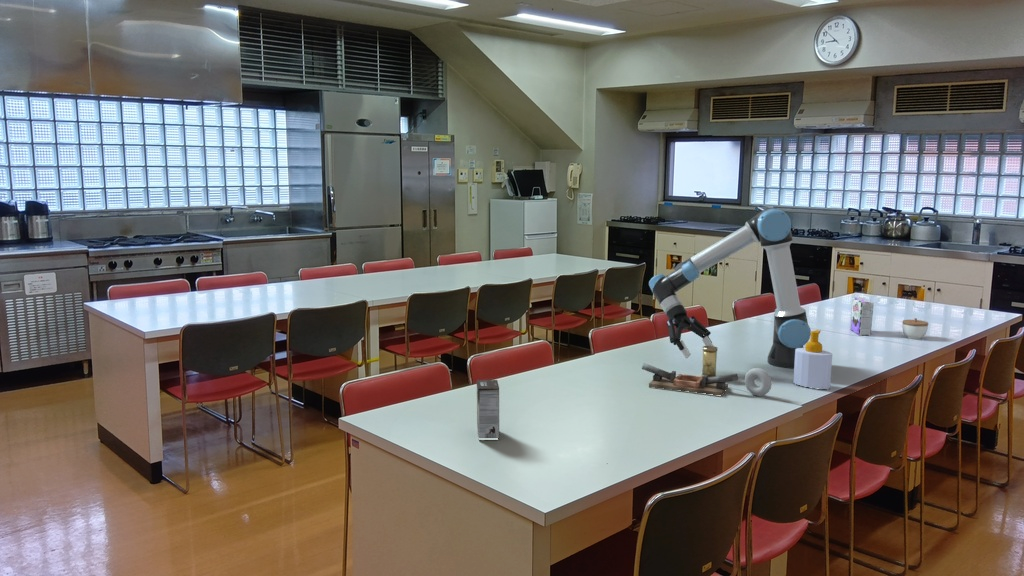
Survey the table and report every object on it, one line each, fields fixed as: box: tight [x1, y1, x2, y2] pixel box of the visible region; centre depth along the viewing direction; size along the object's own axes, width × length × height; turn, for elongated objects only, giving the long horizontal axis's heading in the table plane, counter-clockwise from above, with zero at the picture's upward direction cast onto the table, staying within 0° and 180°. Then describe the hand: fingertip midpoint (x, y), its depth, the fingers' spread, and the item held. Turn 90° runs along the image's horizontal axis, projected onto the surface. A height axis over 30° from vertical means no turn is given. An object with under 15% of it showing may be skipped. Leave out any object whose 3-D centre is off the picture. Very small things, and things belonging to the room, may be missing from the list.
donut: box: [744, 367, 773, 397], centre depth 262 cm, size 10×4×10 cm, turn 41°
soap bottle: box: [793, 329, 833, 390], centre depth 273 cm, size 13×8×20 cm, turn 47°
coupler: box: [701, 345, 718, 378], centre depth 284 cm, size 5×5×12 cm
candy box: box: [849, 297, 875, 337], centre depth 362 cm, size 14×6×16 cm, turn 172°
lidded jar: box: [901, 317, 929, 340], centre depth 351 cm, size 11×11×9 cm
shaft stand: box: [641, 362, 739, 397], centre depth 272 cm, size 35×12×7 cm, turn 63°
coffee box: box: [476, 379, 500, 439], centre depth 223 cm, size 9×6×16 cm
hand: (701, 354), depth 286 cm, fingers open, 13 cm apart
